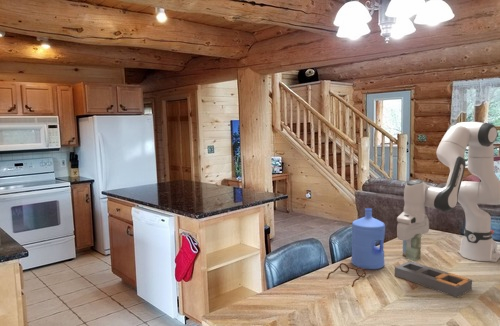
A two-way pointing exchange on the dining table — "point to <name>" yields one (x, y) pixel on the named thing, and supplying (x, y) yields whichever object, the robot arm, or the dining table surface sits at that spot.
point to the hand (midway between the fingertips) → (413, 245)
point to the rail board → (434, 278)
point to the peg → (414, 248)
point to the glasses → (348, 270)
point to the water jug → (367, 242)
